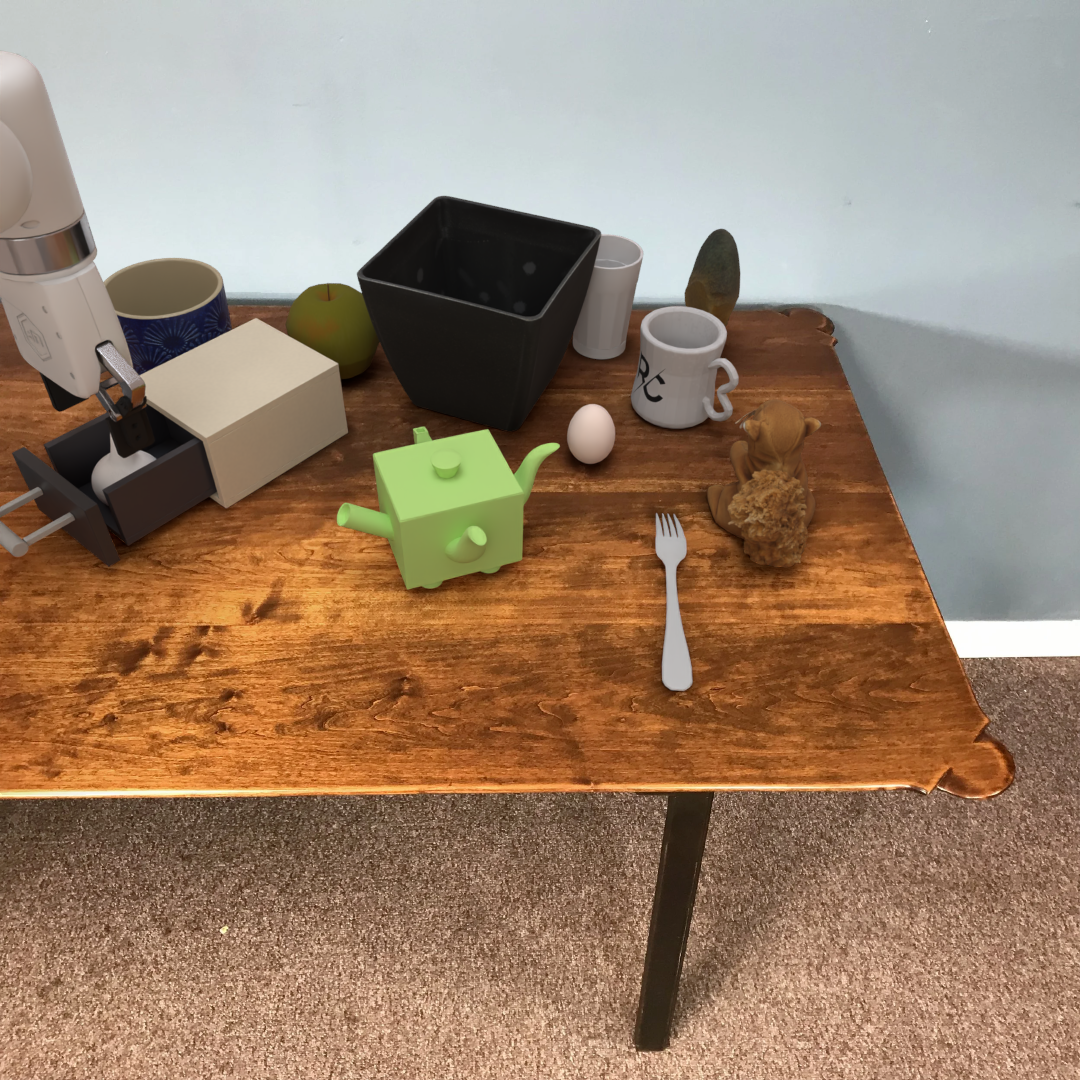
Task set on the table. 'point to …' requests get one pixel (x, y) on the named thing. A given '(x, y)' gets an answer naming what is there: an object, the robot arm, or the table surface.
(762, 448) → the stuffed squirrel
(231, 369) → the cabinet
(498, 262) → the flower pot
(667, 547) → the fork
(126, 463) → the garlic bulb
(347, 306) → the apple
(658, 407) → the mug
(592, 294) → the cup
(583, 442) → the egg
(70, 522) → the drawer
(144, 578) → the table surface
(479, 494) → the kettle
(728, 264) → the decorative stone
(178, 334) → the planter
